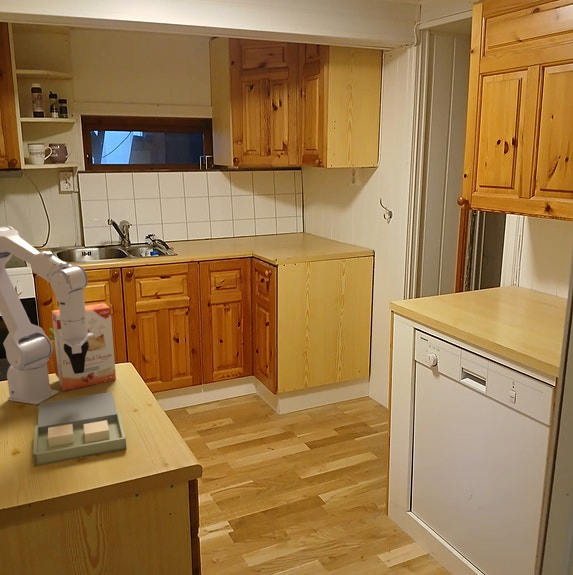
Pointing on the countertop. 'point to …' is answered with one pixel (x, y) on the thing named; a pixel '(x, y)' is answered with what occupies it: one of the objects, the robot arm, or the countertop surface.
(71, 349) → the robot arm
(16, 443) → the countertop surface
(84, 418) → the slate plate
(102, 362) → the cracker box
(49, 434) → the tile
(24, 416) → the countertop surface
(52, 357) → the carrot
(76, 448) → the tray
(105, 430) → the tile
